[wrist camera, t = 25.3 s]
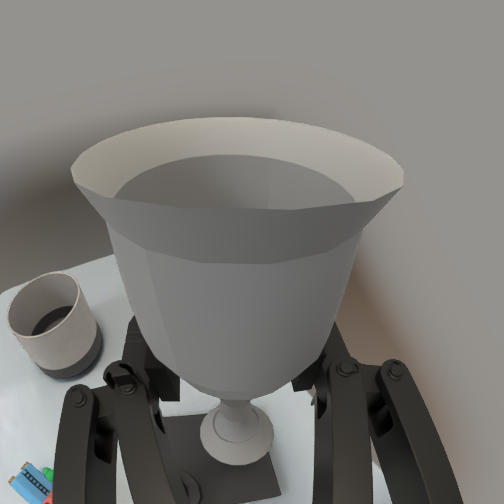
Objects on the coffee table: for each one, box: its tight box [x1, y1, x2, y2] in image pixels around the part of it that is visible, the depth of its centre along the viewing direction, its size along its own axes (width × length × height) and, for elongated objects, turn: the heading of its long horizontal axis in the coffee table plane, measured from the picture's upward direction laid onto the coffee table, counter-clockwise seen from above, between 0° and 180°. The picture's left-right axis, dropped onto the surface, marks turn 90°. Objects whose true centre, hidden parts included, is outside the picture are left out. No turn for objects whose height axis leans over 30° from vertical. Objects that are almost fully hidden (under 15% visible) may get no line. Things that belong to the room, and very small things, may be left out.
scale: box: [163, 414, 281, 504], centre depth 23 cm, size 14×13×3 cm
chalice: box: [71, 117, 404, 465], centre depth 11 cm, size 7×7×18 cm
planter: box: [7, 272, 102, 378], centre depth 31 cm, size 13×13×10 cm
